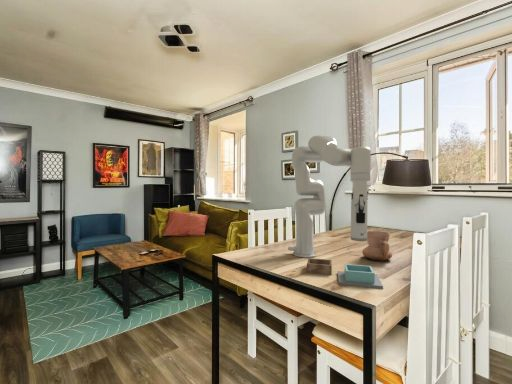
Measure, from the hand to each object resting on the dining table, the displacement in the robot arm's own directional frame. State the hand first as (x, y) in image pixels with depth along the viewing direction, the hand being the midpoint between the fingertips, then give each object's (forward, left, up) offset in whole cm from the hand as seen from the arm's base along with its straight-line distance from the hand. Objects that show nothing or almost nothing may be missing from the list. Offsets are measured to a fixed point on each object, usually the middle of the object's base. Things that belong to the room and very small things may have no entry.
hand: (359, 221), depth 111 cm
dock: (0, 0, -24) cm, 24 cm away
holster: (-16, +9, -24) cm, 30 cm away
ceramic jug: (+13, +37, -25) cm, 46 cm away
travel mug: (0, 0, -8) cm, 8 cm away
